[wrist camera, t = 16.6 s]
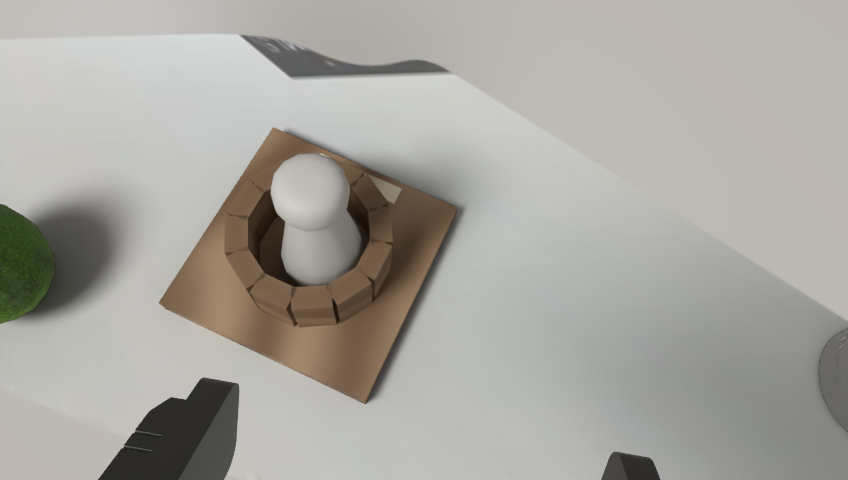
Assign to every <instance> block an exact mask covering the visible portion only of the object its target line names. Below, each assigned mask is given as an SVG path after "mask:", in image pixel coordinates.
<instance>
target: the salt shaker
mask: <svg viewBox="0 0 848 480" xmlns="http://www.w3.org/2000/svg"><path fill="white" fill-rule="evenodd" d="M349 194H350V186H349V184H348V181H347V178H346V176H345V173H344V171H343V169H342V168H341V167H340V166H339V165H338V164H337V163H336V162H335V161H334V160H333V159H332V158H330V157H327V156H324V155H321V154H318V153H305V154H298V155H296V156H294V157H292V158H290V159H288V160H286V161H284V162H283V163H282V165H281V166H280V167H279V168H278V169H277V171H276V172H275V173H274V176H273V181H272V186H271V197H272V200H273V204H274V207H275V210H276V212H277V214H278V215H279V216H280V217H281V218H282V219H283V220H284V221H285V229H284V236H283V243H282V251H281V257H282V260H283V264H284V267H285V270H286V272H287V273H288V274H289V275H290V276H291V277H292V278H293V279H294V280H295V281H296V282H297V283H298V284H299V285H300V286H301V287H304V286H318V285H328V284H330V283H332V282H333V281H335V280H336V279H338V278H339V277H341V276H343V275H344V274H346V273H347V272H349V271H351V270H352V269H354V268H355V267H356V266H357V264H358V262H359V260H360V258H361V257H362V255H363V253H364V251H365V249H366V245H365V242H364V240H363V237H362V234H361V232H360V230H359V228H358V227H357V225H356V224H355V222H354V220H353V219H352V217H351V216H350V214H349V213H348V211H347V210H346V209H347V206H348V200H349Z"/></svg>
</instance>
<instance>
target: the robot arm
mask: <svg viewBox="0 0 848 480" xmlns="http://www.w3.org/2000/svg"><path fill="white" fill-rule="evenodd" d="M819 379H820V387H821V390H822V393H823V396H824V399H825V401H826V403H827V405H828V407H829V409H830V410H831V412H832V414H833V415H834V416H835V418H836V419H837V420H838V422H839V423H840V424H841V425H842V426H843V427H844V428H845V429H846V430H847V431H848V329H847V330H845V331H843V332H840V333H838V334H837V335H836V336H834V337H833V338H832V339H831V340H830V341H829V342H828V344H827V345H826V347H825V348H824V350H823V353H822V356H821V359H820V364H819ZM238 404H239V385H238V384H237V383H232V382H226V381H220V380H215V379H209V378H201V379H200V380H199V382H198V383H197V385H196V386H195V388H194V389H193V391H192V392H191V394H190V395H189V396H188V398H187V399H186V400H184V399H178V398H172V397H171V398H169V399H168V400H166V401H164V402H163V403H161V404H160V405H158V406H157V407H155V408H154V409H152V410H151V411H149V412H148V414H147V415H146V416H145V418H144V419H143V420H142V422H141V423H140V424H139V426H138V427H137V428H136V431H135V433H133V434H132V435H131V436H130V438H129V439H128V440H127V442H126V443H125V444H124V448H123V449H121V450H120V451H119V453H118V454H117V455H116V457H115V458H114V459H113V461H112V462H111V463H110V465H109V466H108V467H107V469H106V470H105V471H104V473H103V474H102V475H101V477H100V478H99V479H98V480H224V478H225V476H226V474H227V472H228V470H229V468H230V465H231V462H232V459H233V455H234V451H235V446H236V437H237V421H238ZM601 480H660V478H659V475H658V472H657V470H656V467H655V465H654V463H653V461H652V459H650V458H648V457H642V456H637V455H631V454H625V453H620V452H613V453H612V454H611V456H610V457H609V460H608V463H607V465H606V468H605V471H604V474H603V477H602V479H601Z"/></svg>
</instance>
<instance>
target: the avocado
mask: <svg viewBox="0 0 848 480" xmlns="http://www.w3.org/2000/svg"><path fill="white" fill-rule="evenodd" d="M54 274H55V267H54V255H53V253H52V250H51V248H50V246H49V244H48V242H47V240H46V239H45V237H44V236H43V234H42V233H41V231H40V230H39V229H38V227H37V226H36V225H35V224H34V223H32V222H31V221H30V220H28V219H27V218H25V217H24V216H23V215H21V214H19V213H17V212H16V211H14V210H12V209H11V208H9V207H7V206H5V205H2V204H0V324H1V323H4V322H8V321H11V320H14V319H17V318H18V317H20V316H22V315H24V314H25V313H27V312H29V311H30V310H32V309H34V308H35V307H36V306H37V304H38V303H39V302H40V301H41V299H42V298H43V297H44V295H45V294H46V293H47V292H48V289H49V286H50V284H51V281H52V279H53V276H54Z"/></svg>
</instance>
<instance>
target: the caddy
mask: <svg viewBox="0 0 848 480" xmlns="http://www.w3.org/2000/svg"><path fill="white" fill-rule="evenodd" d="M305 153H318V154H321V155H324V156H327V157H330V158H332V159H333V160H334V161H335V162H336V163H337V164H338V165H339V166H340V167H341V168H342V169H343V171H344V173H345V176H346V178H347V181H348V184H349V186H350V194H349V200H348V206H347V209H346V210H347V211H348V213H349V214H350V216H351V217H352V219H353V220H354V222H355V224H356V225H357V227H358V228H359V230H360V232H361V234H362V237H363V240H364V242H365V245H366V249H365V251H364V253H363V255H362V257H361V258H360V260H359V262H358V264H357V266H356V267H355V268H354V269H352V270H351V271H349V272H347V273H346V274H344V275H343V276H341V277H339V278H338V279H336V280H335V281H333V282H332V283H330V284H328V285H318V286H304V287H301V286H300V285H299V284H298V283H297V282H296V281H295V280H294V279H293V278H292V277H291V276H290V275H289V274H288V273H287V272H286V270H285V267H284V264H283V260H282V257H281V251H282V243H283V236H284V229H285V221H284V220H283V219H282V218H281V217H280V216H279V215H278V214H277V212H276V210H275V207H274V204H273V200H272V197H271V186H272V181H273V176H274V173H275V172H276V171H277V169H278V168H279V167H280V166H281V165H282V163H283V162H284V161H286V160H288V159H290V158H292V157H294V156H296V155H298V154H305ZM456 212H457V207H454V206H452V205H450V204H448V203H445V202H443V201H441V200H438V199H436V198H434V197H432V196H429V195H427V194H425V193H422V192H420V191H418V190H416V189H413V188H411V187H409V186H406V185H404V184H402V183H400V182H397V181H395V180H393V179H390V178H388V177H386V176H384V175H381V174H379V173H377V172H374V171H372V170H370V169H368V168H365V167H363V166H361V165H358V164H356V163H354V162H352V161H349V160H347V159H345V158H342V157H340V156H338V155H336V154H333V153H331V152H329V151H326V150H324V149H322V148H320V147H317V146H315V145H313V144H310V143H308V142H306V141H304V140H301V139H299V138H297V137H294V136H292V135H290V134H288V133H285V132H283V131H281V130H278V129H276V128H274V127H273V128H272V130H271V131H270V133H269V135H268V136H267V138H266V139H265V141H264V142H263V144H262V145H261V147H260V148H259V150H258V151H257V153H256V154H255V156H254V158H253V159H252V161H251V162H250V164H249V165H248V167H247V168H246V170H245V171H244V173H243V174H242V176H241V177H240V179H239V181H238V182H237V184H236V185H235V187H234V188H233V190H232V191H231V193H230V194H229V196H228V197H227V199H226V200H225V202H224V203H223V205H222V207H221V208H220V210H219V211H218V213H217V214H216V216H215V217H214V219H213V220H212V222H211V223H210V225H209V226H208V228H207V230H206V231H205V233H204V234H203V236H202V237H201V239H200V240H199V242H198V243H197V245H196V246H195V248H194V249H193V251H192V253H191V254H190V256H189V257H188V259H187V260H186V262H185V263H184V265H183V266H182V268H181V269H180V271H179V272H178V274H177V275H176V277H175V279H174V280H173V282H172V283H171V285H170V286H169V288H168V289H167V291H166V292H165V294H164V295H163V297H162V298H161V300H160V302H159V303H160V304H161V305H162V306H163V307H164V308H165V309H167V310H169V311H171V312H174V313H176V314H178V315H180V316H182V317H184V318H186V319H188V320H190V321H192V322H194V323H197V324H199V325H201V326H203V327H205V328H207V329H209V330H211V331H213V332H215V333H217V334H220V335H222V336H224V337H226V338H228V339H230V340H232V341H234V342H236V343H238V344H240V345H243V346H245V347H247V348H249V349H251V350H253V351H255V352H257V353H259V354H261V355H264V356H266V357H268V358H270V359H272V360H274V361H276V362H278V363H280V364H282V365H284V366H287V367H289V368H291V369H293V370H295V371H297V372H299V373H301V374H303V375H305V376H307V377H310V378H312V379H314V380H316V381H318V382H320V383H322V384H324V385H326V386H328V387H330V388H333V389H335V390H337V391H339V392H341V393H343V394H345V395H347V396H349V397H351V398H353V399H356V400H358V401H360V402H362V403H364V404H366V402H367V400H368V398H369V395H370V393H371V391H372V389H373V387H374V385H375V383H376V381H377V379H378V377H379V375H380V372H381V370H382V368H383V366H384V364H385V362H386V360H387V358H388V356H389V354H390V352H391V349H392V347H393V345H394V343H395V341H396V339H397V337H398V335H399V333H400V331H401V329H402V326H403V324H404V322H405V320H406V318H407V316H408V314H409V312H410V310H411V308H412V305H413V303H414V301H415V299H416V297H417V295H418V293H419V291H420V289H421V287H422V285H423V282H424V280H425V278H426V276H427V274H428V272H429V270H430V268H431V266H432V264H433V262H434V259H435V257H436V255H437V253H438V251H439V249H440V247H441V245H442V243H443V241H444V239H445V236H446V234H447V232H448V230H449V228H450V226H451V224H452V222H453V220H454V218H455V215H456Z"/></svg>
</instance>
